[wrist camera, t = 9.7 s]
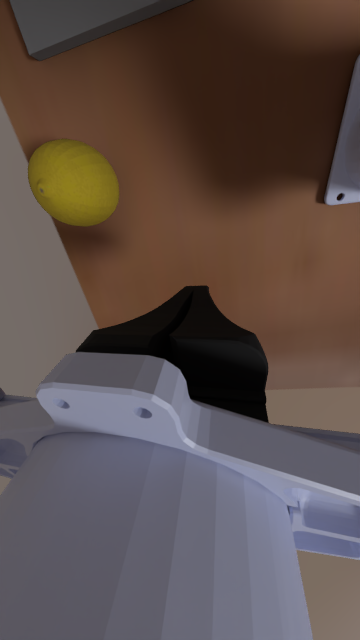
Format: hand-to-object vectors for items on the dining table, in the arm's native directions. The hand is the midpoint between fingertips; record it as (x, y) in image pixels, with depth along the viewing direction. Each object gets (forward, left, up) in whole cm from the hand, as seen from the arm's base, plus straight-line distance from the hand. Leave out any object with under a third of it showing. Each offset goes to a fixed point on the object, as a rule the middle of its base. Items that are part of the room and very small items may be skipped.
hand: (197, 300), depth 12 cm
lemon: (+10, -7, -11) cm, 16 cm away
